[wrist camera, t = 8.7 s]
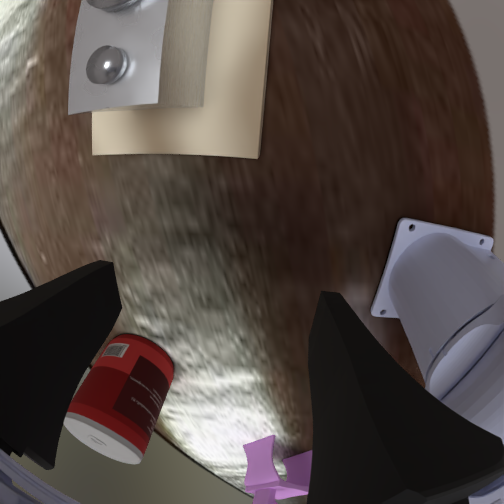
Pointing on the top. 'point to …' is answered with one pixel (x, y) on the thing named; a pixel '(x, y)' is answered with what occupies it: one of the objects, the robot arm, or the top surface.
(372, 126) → the top surface
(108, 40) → the housing
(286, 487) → the toy chair
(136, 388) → the canned food
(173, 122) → the stand
